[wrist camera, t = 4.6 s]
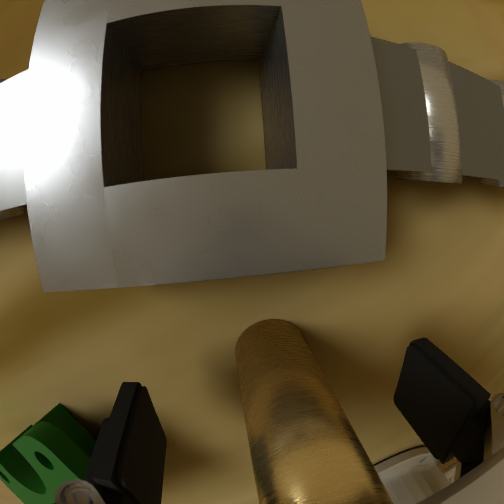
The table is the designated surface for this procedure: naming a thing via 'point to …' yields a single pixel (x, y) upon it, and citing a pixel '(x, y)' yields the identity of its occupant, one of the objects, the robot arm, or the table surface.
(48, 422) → the clamp
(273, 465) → the pin
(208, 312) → the table surface
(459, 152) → the grey metal bar
